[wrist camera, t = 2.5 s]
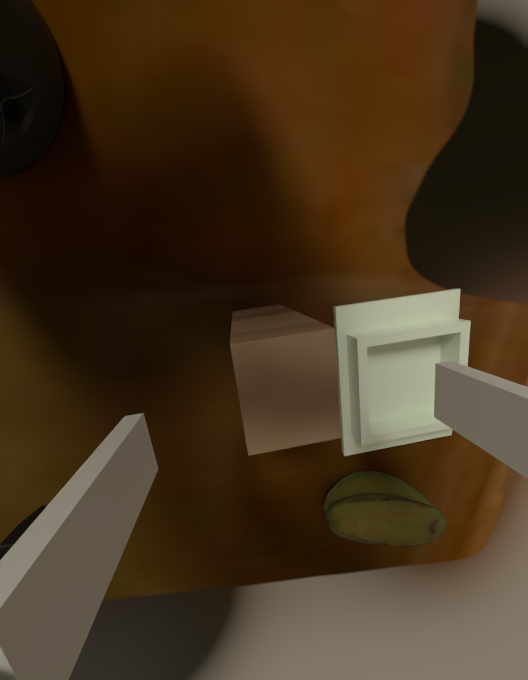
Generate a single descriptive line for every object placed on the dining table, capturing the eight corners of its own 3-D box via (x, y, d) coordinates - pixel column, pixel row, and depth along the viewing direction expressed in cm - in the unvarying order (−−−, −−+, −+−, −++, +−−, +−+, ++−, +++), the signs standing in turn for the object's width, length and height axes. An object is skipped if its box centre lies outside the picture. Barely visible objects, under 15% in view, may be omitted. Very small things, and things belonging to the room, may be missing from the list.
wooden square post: (232, 311, 25) (229, 344, 11) (280, 304, 25) (334, 328, 12) (241, 367, 26) (248, 455, 13) (287, 359, 27) (341, 437, 13)
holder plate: (333, 306, 26) (345, 309, 23) (455, 288, 27) (482, 289, 24) (342, 452, 30) (353, 470, 27) (447, 432, 31) (469, 447, 28)
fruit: (381, 435, 30) (421, 475, 24) (423, 494, 33) (467, 545, 27) (306, 487, 31) (325, 541, 24) (354, 542, 34) (382, 602, 27)
